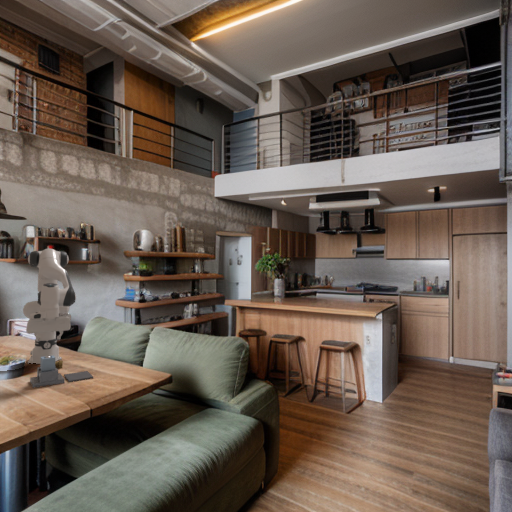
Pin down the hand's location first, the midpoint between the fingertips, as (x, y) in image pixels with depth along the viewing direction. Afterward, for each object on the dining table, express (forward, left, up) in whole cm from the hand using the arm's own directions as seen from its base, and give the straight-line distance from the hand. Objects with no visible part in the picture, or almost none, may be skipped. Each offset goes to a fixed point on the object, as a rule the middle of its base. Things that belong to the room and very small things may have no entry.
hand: (48, 340), depth 186 cm
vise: (0, 0, -22) cm, 22 cm away
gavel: (-19, +5, -23) cm, 30 cm away
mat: (0, +15, -22) cm, 26 cm away
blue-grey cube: (0, 0, -15) cm, 15 cm away
